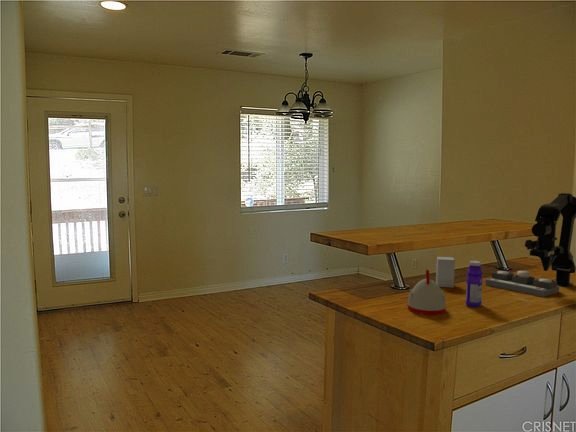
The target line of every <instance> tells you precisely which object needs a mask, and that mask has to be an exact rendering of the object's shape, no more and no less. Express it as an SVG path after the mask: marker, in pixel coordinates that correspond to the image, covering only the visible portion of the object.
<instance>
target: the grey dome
mask: <svg viewBox="0 0 576 432" xmlns="http://www.w3.org/2000/svg"><path fill="white" fill-rule="evenodd" d="M446 305H447V303H446V297H445V292H444V290H442V289H441V287H439V286H438V285H437V284H436V281H435V280H433V279H430V271H429V269H426V270H425V278H422V279H421V280H420V281H418V282H417V283H416V284H415V285H414V287H413V288H411V289H410V290H409V293H408V301H407V310H409V312H413V313H415V314H420V315H426V316H427V315H428V316H437V315H438V314H439V315H443V314H445V313H446V308H447V306H446Z"/></svg>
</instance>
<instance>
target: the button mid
mask: <svg viewBox="0 0 576 432" xmlns="http://www.w3.org/2000/svg"><path fill="white" fill-rule="evenodd" d="M516 275H517V277H520V278H525V279H528V278H530V276H531V273H530V271H528V270H517V273H516Z"/></svg>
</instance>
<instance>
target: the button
mask: <svg viewBox="0 0 576 432" xmlns="http://www.w3.org/2000/svg"><path fill="white" fill-rule="evenodd" d="M496 272H497V273H498V274H504V275H507V274H509V271H504V270H497V271H496Z"/></svg>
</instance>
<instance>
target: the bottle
mask: <svg viewBox="0 0 576 432" xmlns="http://www.w3.org/2000/svg"><path fill="white" fill-rule="evenodd" d="M466 274H467V277H466V281H465V282H466V284H465V285H466V289H465V305H466V306H467V307H470V308H479V307H481V305H482V302H483V301H482V296H483V293H482V292H483V281H484V280H483V276H482V275H483V271H482V262H481V261H480V260H479V261H478V260H470V261H469V267H468V269H467V272H466Z"/></svg>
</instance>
